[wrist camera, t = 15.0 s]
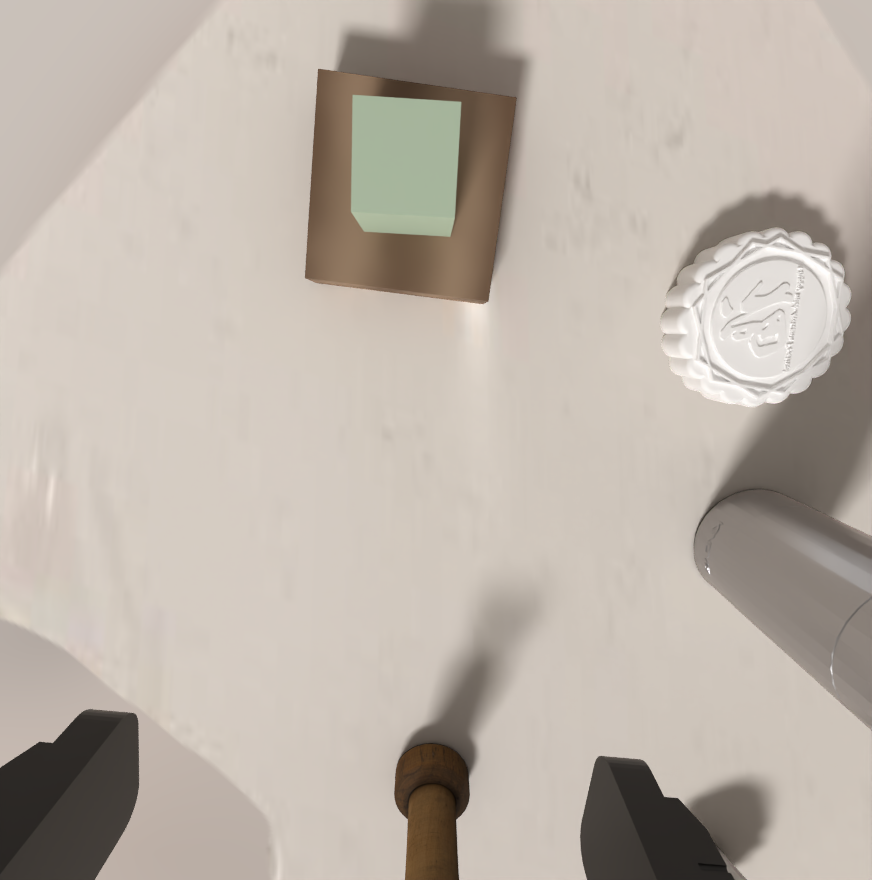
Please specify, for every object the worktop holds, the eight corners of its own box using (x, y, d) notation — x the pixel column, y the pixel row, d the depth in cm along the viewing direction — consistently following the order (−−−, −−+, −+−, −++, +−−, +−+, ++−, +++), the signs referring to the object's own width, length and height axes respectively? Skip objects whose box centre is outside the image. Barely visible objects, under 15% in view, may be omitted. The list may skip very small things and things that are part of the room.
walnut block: (506, 124, 34) (516, 97, 30) (481, 304, 37) (488, 301, 33) (331, 99, 34) (318, 68, 30) (318, 283, 36) (305, 277, 32)
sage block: (455, 141, 31) (461, 101, 25) (450, 236, 32) (454, 217, 26) (365, 136, 31) (352, 94, 25) (364, 231, 32) (351, 211, 26)
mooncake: (665, 235, 36) (691, 224, 32) (832, 234, 36) (875, 224, 32) (650, 402, 38) (673, 409, 35) (805, 401, 38) (843, 408, 35)
